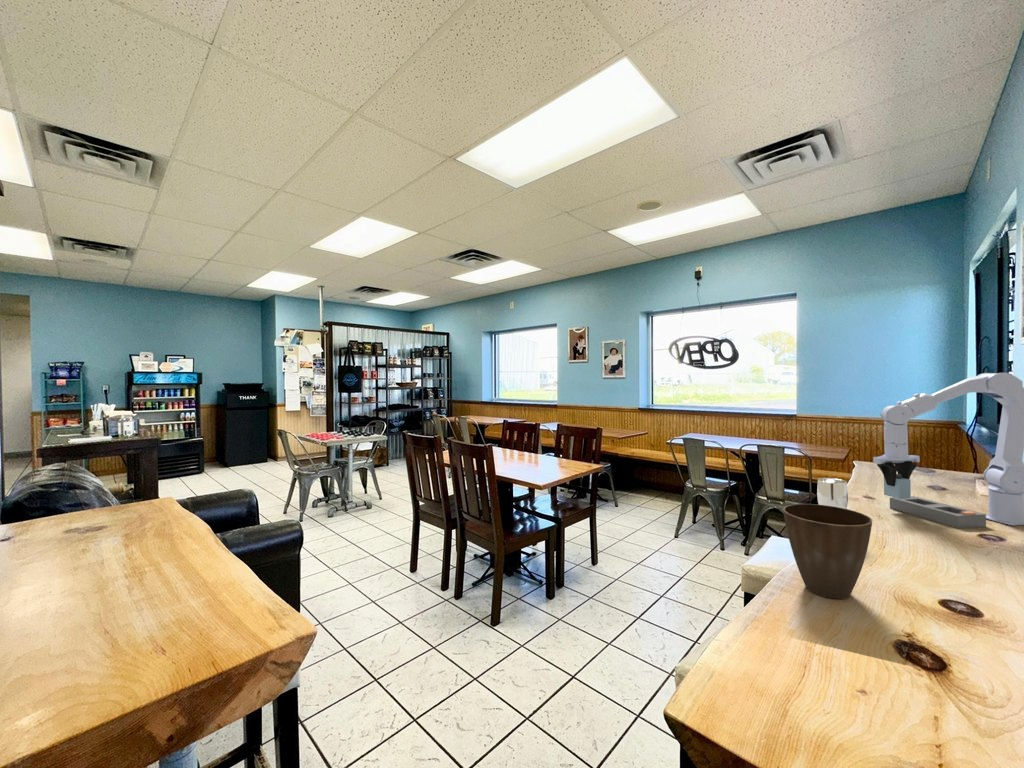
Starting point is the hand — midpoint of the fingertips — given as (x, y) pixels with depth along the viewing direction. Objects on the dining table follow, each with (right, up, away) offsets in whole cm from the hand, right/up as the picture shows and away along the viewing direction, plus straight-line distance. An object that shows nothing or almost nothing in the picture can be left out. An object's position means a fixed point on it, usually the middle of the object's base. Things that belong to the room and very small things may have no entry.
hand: (897, 485), depth 139 cm
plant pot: (-59, -10, -50) cm, 78 cm away
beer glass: (-34, -10, -18) cm, 39 cm away
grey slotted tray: (+7, -8, -6) cm, 12 cm away
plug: (0, -4, 0) cm, 4 cm away
